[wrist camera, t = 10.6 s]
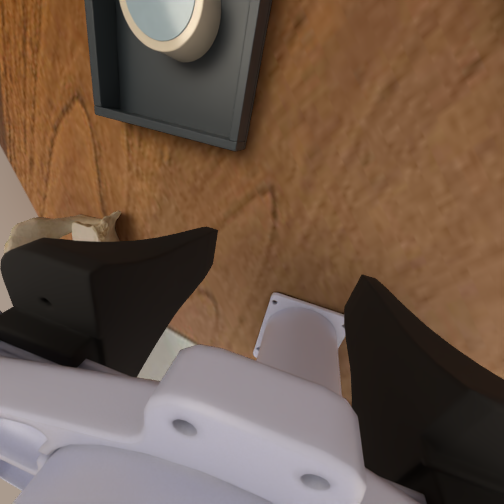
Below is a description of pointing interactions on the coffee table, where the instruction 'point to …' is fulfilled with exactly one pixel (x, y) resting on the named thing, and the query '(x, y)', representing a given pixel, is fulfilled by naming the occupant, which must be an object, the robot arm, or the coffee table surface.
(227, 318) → the coffee table surface
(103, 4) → the tray
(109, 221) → the bone
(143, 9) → the dish
